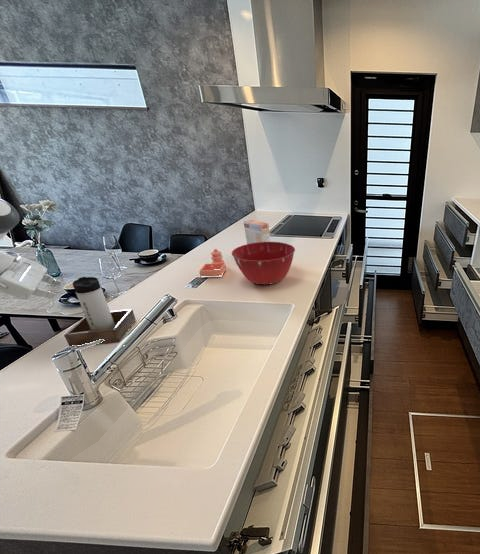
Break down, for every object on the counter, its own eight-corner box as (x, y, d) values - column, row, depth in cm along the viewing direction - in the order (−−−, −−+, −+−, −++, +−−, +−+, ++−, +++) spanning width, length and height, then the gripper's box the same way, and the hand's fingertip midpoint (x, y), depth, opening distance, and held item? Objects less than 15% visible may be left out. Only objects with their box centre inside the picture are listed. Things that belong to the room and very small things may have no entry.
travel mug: (112, 324, 109) (93, 274, 101) (119, 331, 106) (100, 279, 98) (90, 332, 104) (68, 280, 96) (96, 339, 101) (74, 285, 93)
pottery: (221, 277, 150) (218, 259, 146) (200, 278, 148) (196, 259, 144) (229, 264, 166) (226, 247, 162) (211, 265, 164) (207, 247, 160)
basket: (69, 347, 98) (64, 334, 96) (92, 325, 110) (87, 313, 107) (119, 342, 101) (114, 329, 99) (136, 320, 113) (132, 309, 111)
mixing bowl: (269, 264, 167) (265, 237, 161) (309, 276, 154) (307, 247, 148) (223, 282, 145) (218, 252, 138) (266, 298, 132) (262, 265, 126)
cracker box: (272, 258, 176) (268, 222, 168) (264, 261, 172) (260, 225, 163) (256, 253, 183) (251, 219, 174) (248, 256, 178) (243, 221, 169)
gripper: (-8, 270, 78) (59, 294, 87) (13, 249, 93) (68, 271, 102) (-26, 290, 77) (44, 312, 87) (-1, 265, 92) (56, 286, 102)
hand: (57, 290), depth 95 cm, fingers open, 8 cm apart
